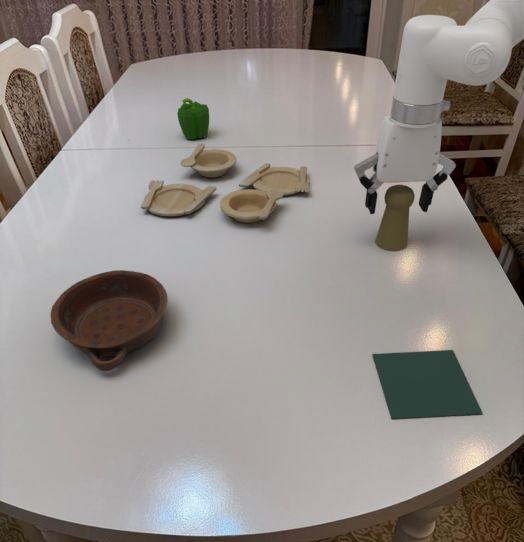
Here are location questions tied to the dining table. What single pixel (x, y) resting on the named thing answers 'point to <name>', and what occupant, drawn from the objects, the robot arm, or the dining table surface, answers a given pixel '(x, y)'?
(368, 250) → the dining table surface
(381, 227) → the olive game pawn
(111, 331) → the dish
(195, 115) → the bell pepper
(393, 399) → the mat
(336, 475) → the dining table surface
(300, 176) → the tableware set
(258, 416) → the dining table surface
